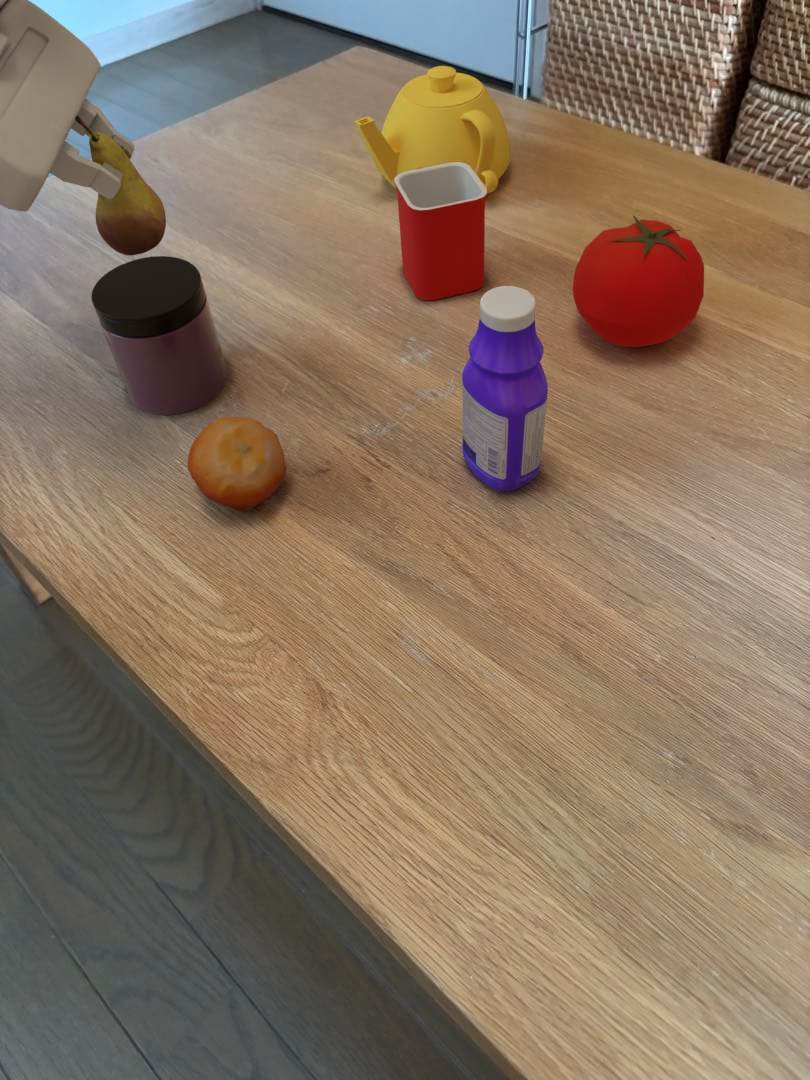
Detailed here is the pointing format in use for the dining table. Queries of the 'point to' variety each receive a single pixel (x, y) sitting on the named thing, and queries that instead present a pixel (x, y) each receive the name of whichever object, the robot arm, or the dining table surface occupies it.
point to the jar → (172, 366)
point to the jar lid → (148, 296)
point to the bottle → (504, 392)
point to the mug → (442, 229)
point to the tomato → (639, 284)
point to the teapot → (440, 128)
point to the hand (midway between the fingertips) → (124, 172)
